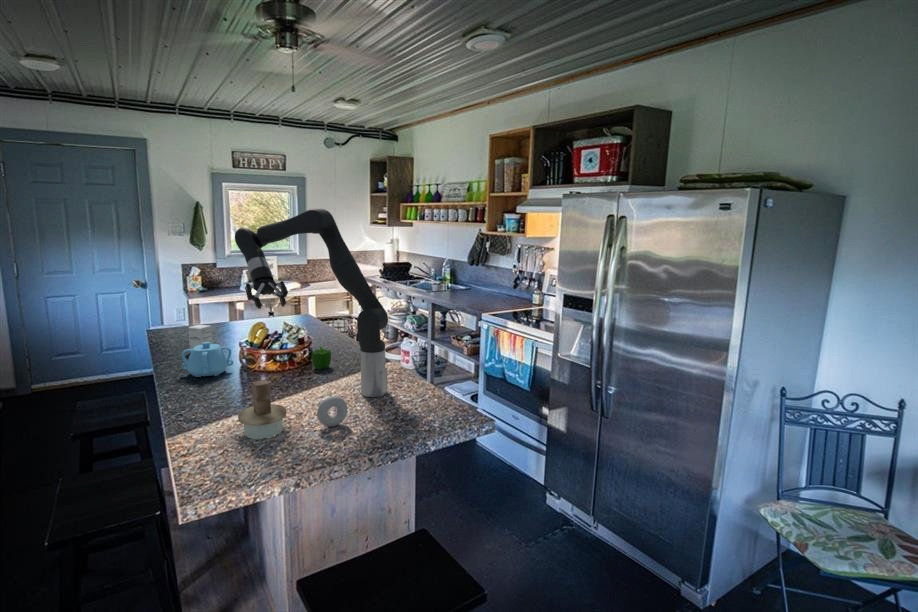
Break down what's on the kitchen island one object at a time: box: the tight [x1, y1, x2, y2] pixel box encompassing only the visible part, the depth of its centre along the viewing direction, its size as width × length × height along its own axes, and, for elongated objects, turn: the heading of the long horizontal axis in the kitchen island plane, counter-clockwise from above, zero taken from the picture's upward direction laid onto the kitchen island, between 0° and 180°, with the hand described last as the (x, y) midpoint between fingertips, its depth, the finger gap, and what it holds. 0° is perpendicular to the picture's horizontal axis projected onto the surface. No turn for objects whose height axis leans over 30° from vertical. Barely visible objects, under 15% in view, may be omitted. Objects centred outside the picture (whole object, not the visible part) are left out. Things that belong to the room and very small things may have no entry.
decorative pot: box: [181, 342, 234, 378], centre depth 210 cm, size 16×16×14 cm
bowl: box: [243, 419, 283, 440], centre depth 158 cm, size 11×11×5 cm
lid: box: [237, 379, 287, 426], centre depth 156 cm, size 14×14×11 cm
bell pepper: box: [311, 344, 332, 370], centre depth 221 cm, size 8×8×10 cm
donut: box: [316, 395, 349, 428], centre depth 162 cm, size 10×3×10 cm, turn 125°
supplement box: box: [188, 323, 214, 349], centre depth 242 cm, size 7×7×13 cm
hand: (272, 306), depth 184 cm, fingers open, 8 cm apart
